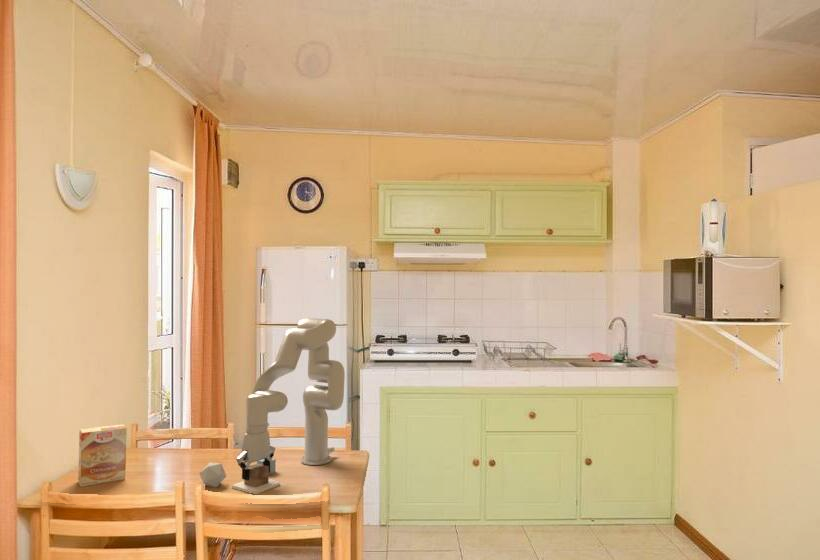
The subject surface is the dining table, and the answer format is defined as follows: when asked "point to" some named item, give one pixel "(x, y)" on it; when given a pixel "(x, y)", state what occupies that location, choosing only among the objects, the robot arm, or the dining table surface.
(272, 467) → the blue block
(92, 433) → the coffeecake box
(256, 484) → the walnut block
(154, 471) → the dining table surface
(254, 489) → the plate
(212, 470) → the die
